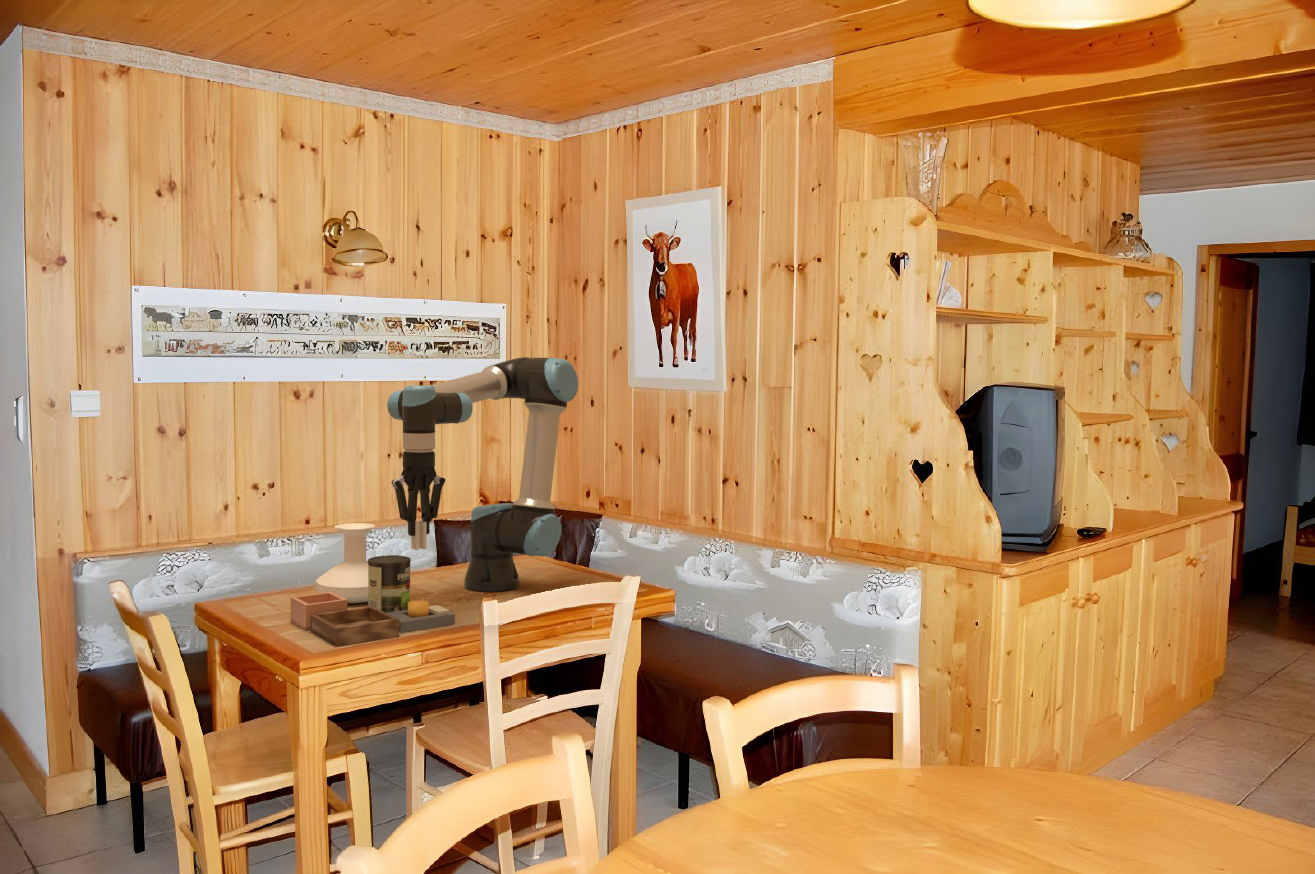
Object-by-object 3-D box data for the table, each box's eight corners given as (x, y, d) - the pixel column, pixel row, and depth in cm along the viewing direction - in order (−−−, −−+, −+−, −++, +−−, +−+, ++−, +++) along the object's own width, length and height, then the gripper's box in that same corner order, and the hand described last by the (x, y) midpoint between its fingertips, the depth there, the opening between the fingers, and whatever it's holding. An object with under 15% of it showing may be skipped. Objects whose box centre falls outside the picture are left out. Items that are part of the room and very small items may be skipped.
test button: (423, 615, 255) (423, 599, 255) (432, 619, 252) (432, 603, 251) (404, 618, 252) (404, 601, 252) (413, 622, 248) (413, 606, 248)
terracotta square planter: (331, 615, 258) (331, 591, 257) (347, 624, 250) (347, 599, 250) (290, 621, 252) (290, 597, 251) (306, 630, 244) (305, 605, 243)
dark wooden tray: (371, 622, 252) (371, 606, 252) (399, 636, 241) (399, 619, 241) (310, 631, 243) (310, 614, 243) (335, 646, 231) (335, 628, 231)
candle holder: (315, 592, 283) (314, 521, 281) (391, 588, 289) (391, 519, 287) (315, 609, 264) (314, 533, 262) (396, 605, 270) (397, 531, 268)
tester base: (435, 615, 260) (435, 603, 260) (454, 624, 252) (454, 611, 252) (382, 623, 251) (382, 610, 251) (400, 632, 244) (400, 619, 243)
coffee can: (417, 611, 264) (417, 556, 263) (399, 621, 254) (399, 564, 253) (379, 608, 266) (379, 553, 265) (360, 618, 256) (360, 561, 255)
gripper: (438, 447, 256) (438, 543, 258) (383, 450, 247) (384, 549, 249) (453, 450, 250) (453, 548, 252) (397, 453, 241) (397, 554, 243)
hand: (418, 548), depth 251 cm, fingers closed
